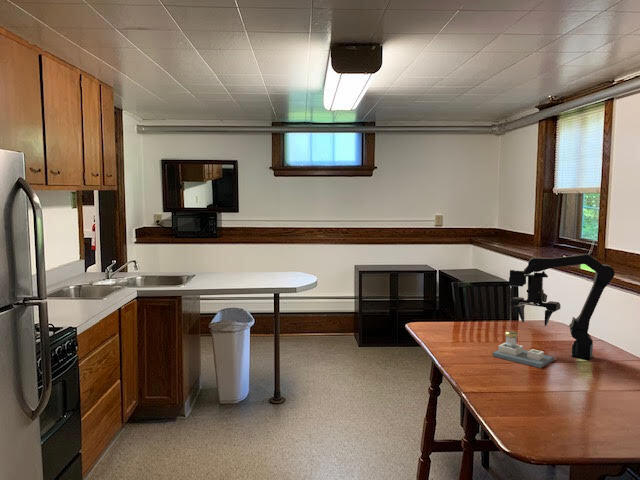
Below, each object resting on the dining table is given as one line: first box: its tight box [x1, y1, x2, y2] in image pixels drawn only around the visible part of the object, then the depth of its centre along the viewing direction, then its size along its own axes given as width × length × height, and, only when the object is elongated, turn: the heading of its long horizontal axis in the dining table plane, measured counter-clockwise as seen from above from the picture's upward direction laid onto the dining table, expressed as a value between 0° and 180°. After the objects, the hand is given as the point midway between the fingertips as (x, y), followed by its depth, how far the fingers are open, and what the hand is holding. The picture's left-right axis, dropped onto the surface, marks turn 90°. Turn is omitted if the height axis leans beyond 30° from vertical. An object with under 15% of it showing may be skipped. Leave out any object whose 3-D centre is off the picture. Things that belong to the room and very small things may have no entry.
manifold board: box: [492, 341, 554, 369], centre depth 191 cm, size 19×13×4 cm
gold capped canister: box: [504, 330, 519, 349], centre depth 194 cm, size 5×5×8 cm
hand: (534, 323), depth 200 cm, fingers open, 9 cm apart
